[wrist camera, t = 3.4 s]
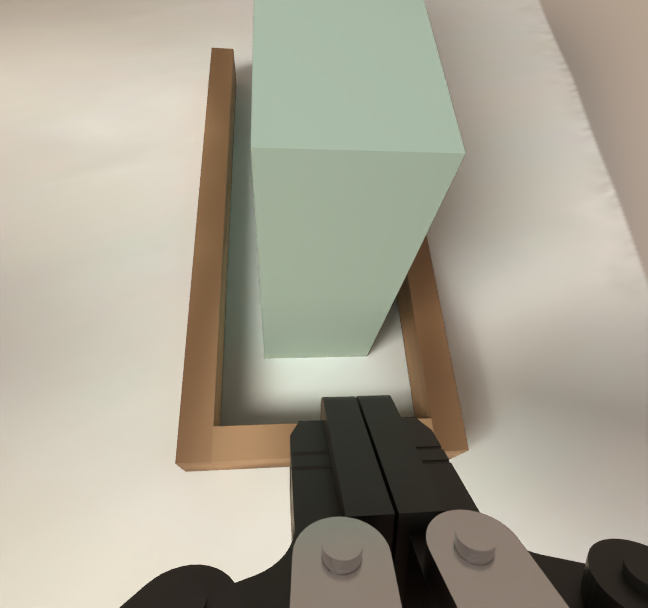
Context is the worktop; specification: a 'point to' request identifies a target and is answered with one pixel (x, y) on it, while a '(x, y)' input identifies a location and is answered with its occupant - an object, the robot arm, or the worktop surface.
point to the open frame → (209, 322)
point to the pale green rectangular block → (343, 165)
